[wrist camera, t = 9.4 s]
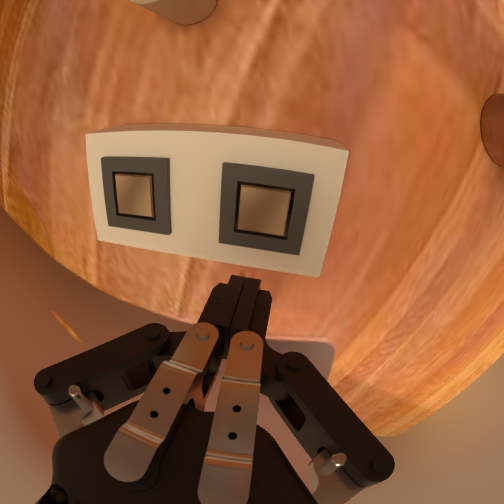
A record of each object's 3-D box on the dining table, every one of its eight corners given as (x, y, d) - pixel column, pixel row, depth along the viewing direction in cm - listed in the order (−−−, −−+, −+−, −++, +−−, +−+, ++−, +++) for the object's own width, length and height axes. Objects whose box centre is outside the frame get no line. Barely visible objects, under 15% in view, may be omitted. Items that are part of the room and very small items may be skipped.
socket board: (337, 141, 24) (350, 152, 19) (316, 246, 31) (319, 281, 25) (118, 125, 26) (81, 135, 21) (124, 217, 32) (95, 242, 27)
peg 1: (179, 159, 28) (150, 176, 22) (179, 193, 30) (152, 217, 24) (147, 158, 28) (114, 174, 22) (148, 190, 30) (118, 213, 24)
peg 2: (292, 172, 27) (291, 192, 21) (286, 208, 29) (283, 237, 23) (253, 166, 27) (240, 185, 21) (249, 202, 29) (237, 229, 23)
